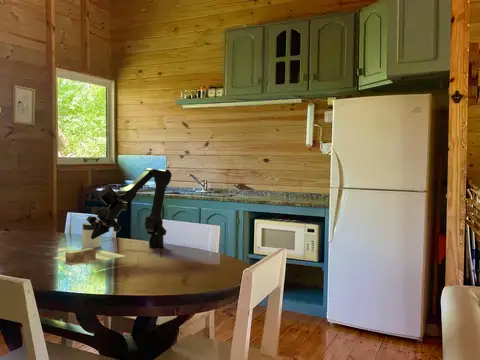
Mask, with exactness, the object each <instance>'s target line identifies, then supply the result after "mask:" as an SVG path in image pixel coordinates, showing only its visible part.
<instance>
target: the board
mask: <svg viewBox="0 0 480 360" xmlns="http://www.w3.org/2000/svg"><path fill="white" fill-rule="evenodd" d="M124 257H125V255H124V254H119V253H115V252H112V251H111V252H110V251H107V250H103V249H97V250H96V258H93V259H88V260H82V261H77V262H72V263H70V262H67V261H66V255H61V256H56V257H53V259H54V260H58V261H62V262H65V263H69V264H72V265H75V266H83V265H89V264H92V263H98V262H103V261H108V260H114V259H118V258H124Z"/></svg>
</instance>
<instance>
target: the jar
mask: <svg viewBox="0 0 480 360" xmlns="http://www.w3.org/2000/svg"><path fill="white" fill-rule="evenodd" d="M93 230H94V227H93V226H92V225H91V224H90V223H89V222H84V223H82V228H81V249H86V248H94V249H97V248H100V247H101V244H102V243H101V242H102V241H101V239H102V238H101V237H102V235H100V236H98V237H97V238H95V239H91V235H92V232H93Z"/></svg>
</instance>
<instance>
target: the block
mask: <svg viewBox="0 0 480 360" xmlns="http://www.w3.org/2000/svg"><path fill="white" fill-rule="evenodd" d="M96 249H97V248H81V249H75V250H69V251H65V256H66V261H67V262H66V263H68V262H70V263H69V264H71V263H72V262H77V261H82V260H88V259H93V258H96Z"/></svg>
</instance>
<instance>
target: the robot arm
mask: <svg viewBox="0 0 480 360" xmlns="http://www.w3.org/2000/svg"><path fill="white" fill-rule="evenodd" d="M172 176H173V175H172V172H171V171H170V170H169V169H159V168H158V169H156V168H155V169H154V168H149V167H148V168H146V169H145V170H144V171H143V172H142V173H141V174H140V175H139V176H138V177H136V178H135V180H134V181H132V182H131V183H130V184H128V185H127V186H124V187H122V188H121V189H119V190H118V191H117V192H116V191H115V190H113V188H112V187H111V186H109V185H108V186H106V187H105V188H102V189H101V190H99V192H98V194H97V197H99V199H100V200H101V201H102V202H103V203H104V204H105V205H106V206H108V207H106V206H102V207H100V206H92V208H91V212H90V214H92V215H89V216H88V217H87V218H86V221H87V223H90V224H91V225H92V226H93V227H94V230H93V232H92V235H91V239H95V238H97V237H98V236H100V235H101V236H102V235H104V234H107V233H110V229H112V228H113V232H115V233H119V232H120V230H121V229H122V228H121V225H120V224H119V223H118V222H117V221H116V220H119V215H120V213H121V212H122V211H128V204H126V203H131V202H133V200H134V199H135V198H136V196H137V193H138V192H139V191H140V190H141V189H142V188H143V187H144V186H145V185H146V184H147V183H148V182H149V181H150V180H151V179H152V178H154V184H155V189H154V190H155V191H154V196H153V200H152V201H153V202H152V206H151V212H150V214H149V216H146V217H145V221H144V223H143V225H144V228H145V231H146V233H147V235H149V237H148V246H149V247H150V248H151V249H155V248H156V249H157V248H165V246H164V236H166V234H167V230H166V229H165V227H164V226H163V223H164V222H163V217H162V212H163V211H162V210H163V203H164V200H165V195H166V194H165V193H166V188H167V187H168V185H169V184H170V182H171V179H172ZM94 215H95V216H94Z"/></svg>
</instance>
